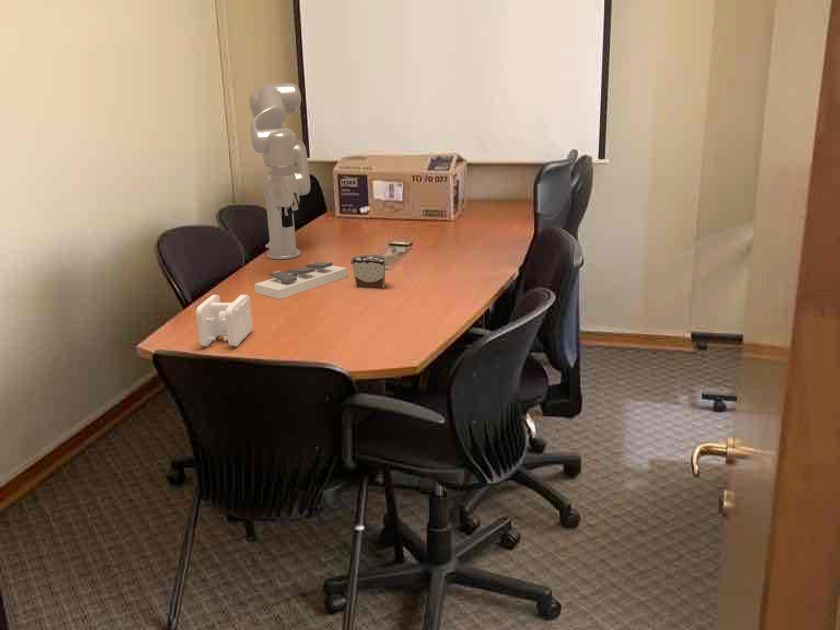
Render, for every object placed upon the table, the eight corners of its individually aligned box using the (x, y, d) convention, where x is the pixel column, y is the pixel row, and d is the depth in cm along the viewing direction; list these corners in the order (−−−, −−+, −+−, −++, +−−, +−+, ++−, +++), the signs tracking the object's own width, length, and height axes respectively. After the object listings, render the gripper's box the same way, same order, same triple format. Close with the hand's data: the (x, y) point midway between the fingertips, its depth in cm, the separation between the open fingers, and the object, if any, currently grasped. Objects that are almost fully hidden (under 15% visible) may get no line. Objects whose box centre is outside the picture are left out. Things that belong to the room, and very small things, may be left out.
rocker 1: (268, 275, 284) (268, 272, 284) (278, 272, 287) (278, 269, 286) (287, 283, 279) (287, 280, 278) (296, 280, 282) (296, 277, 281)
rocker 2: (288, 273, 290) (287, 270, 290) (297, 270, 293) (296, 267, 293) (306, 273, 284) (305, 270, 284) (315, 270, 287) (314, 267, 287)
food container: (394, 284, 286) (392, 254, 283) (387, 290, 280) (385, 259, 277) (359, 282, 290) (357, 253, 287) (352, 287, 284) (350, 258, 281)
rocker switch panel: (255, 292, 283) (254, 281, 282) (323, 271, 304) (322, 260, 303) (279, 299, 275) (278, 287, 274) (347, 276, 297) (346, 265, 295)
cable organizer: (219, 330, 249) (214, 291, 246) (255, 331, 248) (250, 292, 244) (199, 349, 235) (194, 308, 231) (237, 350, 234) (232, 309, 230)
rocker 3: (306, 267, 296) (305, 264, 295) (315, 265, 298) (314, 261, 298) (324, 268, 290) (323, 264, 289) (332, 265, 292) (332, 262, 292)
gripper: (258, 170, 283) (264, 226, 289) (289, 174, 274) (294, 231, 279) (276, 167, 288) (281, 221, 294) (307, 170, 279) (311, 227, 285)
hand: (287, 226), depth 287 cm, fingers closed
